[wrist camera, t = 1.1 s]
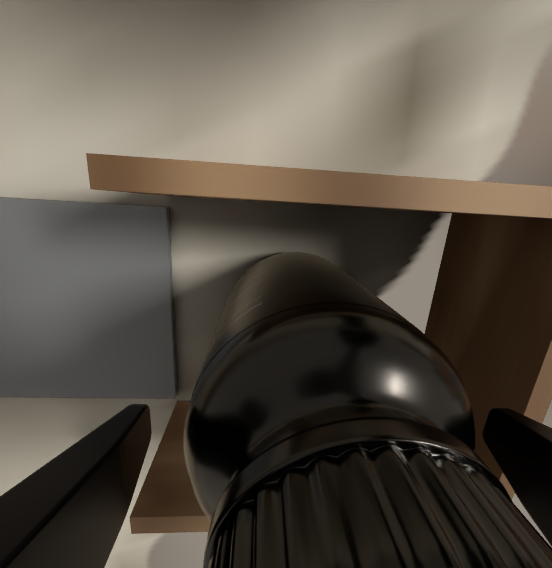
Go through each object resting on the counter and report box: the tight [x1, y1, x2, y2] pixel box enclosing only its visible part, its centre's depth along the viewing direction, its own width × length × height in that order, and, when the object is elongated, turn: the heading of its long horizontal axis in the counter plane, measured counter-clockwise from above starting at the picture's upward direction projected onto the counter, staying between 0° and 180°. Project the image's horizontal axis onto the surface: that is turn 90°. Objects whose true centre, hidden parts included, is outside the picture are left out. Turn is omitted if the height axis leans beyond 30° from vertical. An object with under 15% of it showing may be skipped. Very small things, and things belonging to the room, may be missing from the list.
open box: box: [86, 153, 552, 534], centre depth 12 cm, size 14×13×6 cm
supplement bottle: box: [183, 252, 552, 568], centre depth 9 cm, size 7×7×12 cm
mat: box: [0, 197, 177, 399], centre depth 13 cm, size 10×10×1 cm
